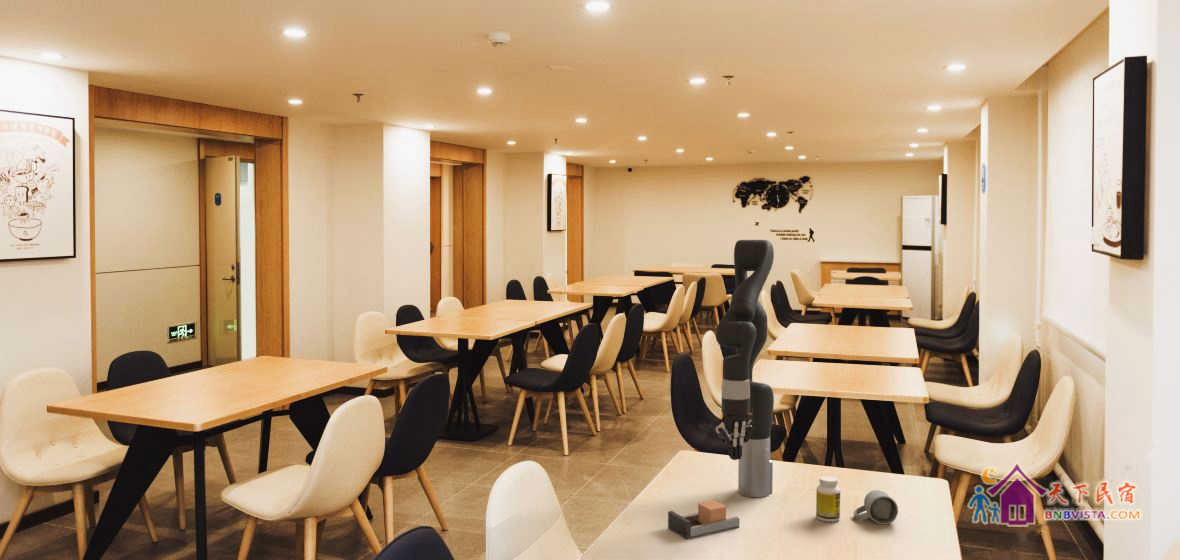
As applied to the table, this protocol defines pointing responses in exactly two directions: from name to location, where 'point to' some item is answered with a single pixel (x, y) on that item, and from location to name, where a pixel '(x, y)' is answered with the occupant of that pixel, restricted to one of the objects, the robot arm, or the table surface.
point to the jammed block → (711, 512)
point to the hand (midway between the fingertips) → (735, 458)
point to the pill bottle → (828, 500)
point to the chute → (698, 525)
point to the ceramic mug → (878, 508)
